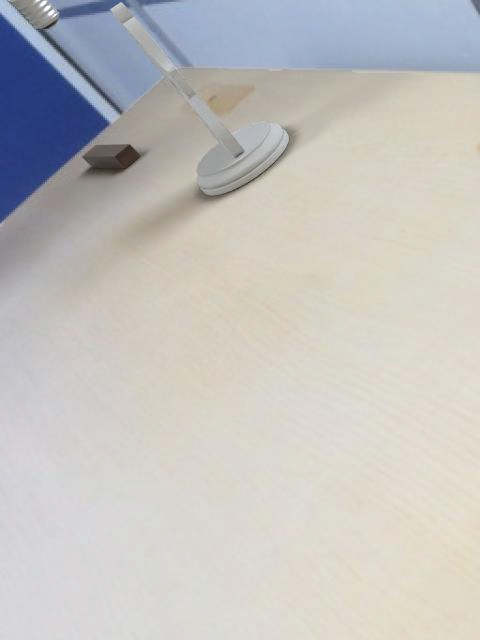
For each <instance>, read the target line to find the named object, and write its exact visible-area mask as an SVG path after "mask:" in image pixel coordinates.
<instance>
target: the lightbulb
mask: <svg viewBox="0 0 480 640" xmlns="http://www.w3.org/2000/svg"><path fill="white" fill-rule="evenodd" d="M7 1H8V2H9V3H12V5H13V6H14V7H15V8H16V9H17V10H18V11H20V14H22V15H24V18H25V19H26V20H28V22H29V24H32V27H33V28H34V29H37V30H47V31H49V30H52V29H53V28H55V27H56V26H57V25H58V21H59V17H60V11H58V10H57V8H55V7H54V5H53V4H52V3H51V2H50V0H7Z"/></svg>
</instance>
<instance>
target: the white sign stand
mask: <svg viewBox="0 0 480 640" xmlns="http://www.w3.org/2000/svg"><path fill="white" fill-rule="evenodd" d="M109 10H110V11H111V13H112V14H113V16H114V18H115V19H117V21H118V22H119V23H120V25H121V26H122V27H123V28H124V29H125V31H126V32H127V34H128V35H129V36H130V37H131V39H133V41H134V42H135V43H136V44H137V46H138V47H139V48H140V50H142V52H143V53H144V54H145V56H147V58H148V59H149V60H150V61H151V63H152V64H153V65H154V66H155V68H156V69H157V70H158V71H159V72H160V73H161V74H162V76H163V77H164V78H165V79H166V80H167V82H168V83H169V84H170V85H171V87H172V88H173V89H174V90H175V91H176V92H177V94H178V95H179V96H180V97H181V98H182V100H183V101H184V102H185V104H187V105H188V107H189V109H191V110H192V112H193V113H194V114H195V115H196V117H197V118H198V119H199V120H200V122H201V123H202V124H203V126H205V128H206V129H207V130H208V132H210V133H211V135H212V136H213V137H214V138H215V140H216V141H217V143H216V144H215V145H213V147H211V148H210V150H208V151H207V152H206V153H205V155H204V156H202V158H201V159H200V160H199V162H198V164H197V166H196V170H195V171H196V174H197V175H196V183H197V185H198V186H199V188H200V190H201V191H202V192H203V193H204V194H205V195H207V196H220V195H224V194H227V193H229V192H232V191H234V190H236V189H238V188H240V187H242V186H244V185H246V184H247V183H250V182H251V181H252V180H254V179H256V178H257V177H258V176H259V175H261V174H262V173H264V172H265V171H266V170H267V169H268V168H270V167H271V166H272V165H273V164H274V163H275V162H276V161H277V160H278V159H279V158H280V157H281V155H282V154H283V153H284V152H285V150H286V149H287V147H288V145H289V142H290V137H289V134H288V133H287V131H286V130H285V129H284V128H282V126H281V125H279V124H277V123H270V121H268V120H260V121H255V122H252V123H249V124H247V125H244V126H243V127H240V128H239V129H237V130H235V131H233V132H230V130H229V129H228V128H227V127H226V125H225V124H224V123H223V122H222V120H221V119H220V118H219V117H218V116H217V115H216V113H215V112H214V111H213V110H212V109H211V108H210V107H209V106H208V104H207V103H206V102H205V101H204V99H203V98H202V97H201V96H200V94H198V92H196V90H195V89H194V87H192V86H191V84H190V83H189V82H188V81H187V80H186V78H185V77H184V76H183V75H182V73H181V72H180V71H179V69H178V68H177V67H176V66H175V64H174V63H173V62H172V61H171V60H170V58H169V57H168V56H167V55H166V53H165V52H164V50H162V48H161V47H160V46H159V44H158V43H157V42H156V40H155V39H154V38H153V37H152V35H151V34H150V33H149V32H148V30H147V29H146V28H145V27H144V26H143V24H141V22H140V21H139V20H138V19H137V18H136V16H134V14H133V13H132V12H131V10H129V8H128V7H127V6H126V5H125V4H124V3H123V2H122V1H120V2H118V4H116V5H114V6H113V7H111V8H110V9H109Z"/></svg>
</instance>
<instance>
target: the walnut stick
mask: <svg viewBox="0 0 480 640" xmlns="http://www.w3.org/2000/svg"><path fill="white" fill-rule="evenodd" d="M140 157H141V154H140V153H139V152H138V151H137V150H136V149H135V148H134V147H133V146H132V145H131V143H122V144H121V143H117V144H115V143H113V144H95V145H93V146H92V148H90V149H89V150H88V151H87V152H85V153H84V154H83V155H82V156H81V158H82V159H83V160H84V161H85V162H86V163H87V164H88V165H89V166H90V167H91V168H93V169H94V168H95V169H96V168H97V169H103V168H104V169H127V168H128V167H129V166H131V165H132V164H133V163H134V162H135V161H137V160H138V159H139V158H140Z"/></svg>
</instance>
